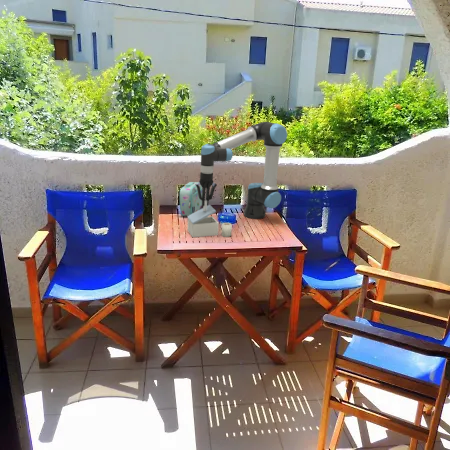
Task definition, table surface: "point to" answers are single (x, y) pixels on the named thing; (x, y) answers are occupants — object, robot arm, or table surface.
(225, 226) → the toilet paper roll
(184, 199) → the lunch box
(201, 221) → the crate
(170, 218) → the table surface
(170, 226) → the table surface
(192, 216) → the lid
